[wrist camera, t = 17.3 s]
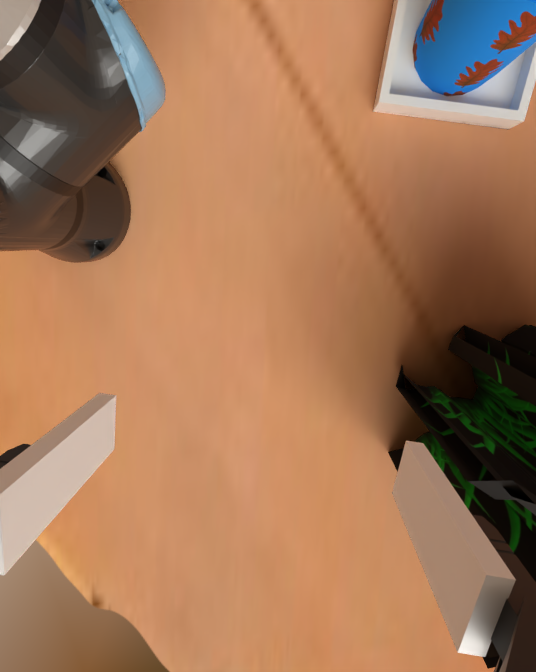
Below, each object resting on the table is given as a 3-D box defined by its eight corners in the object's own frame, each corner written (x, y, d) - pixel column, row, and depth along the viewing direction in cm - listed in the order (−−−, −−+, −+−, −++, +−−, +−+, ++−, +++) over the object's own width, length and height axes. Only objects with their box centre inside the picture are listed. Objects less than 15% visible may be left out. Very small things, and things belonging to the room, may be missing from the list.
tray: (373, 111, 45) (378, 102, 42) (400, -34, 41) (408, -56, 38) (508, 129, 44) (524, 121, 41) (549, -16, 40) (568, -36, 38)
